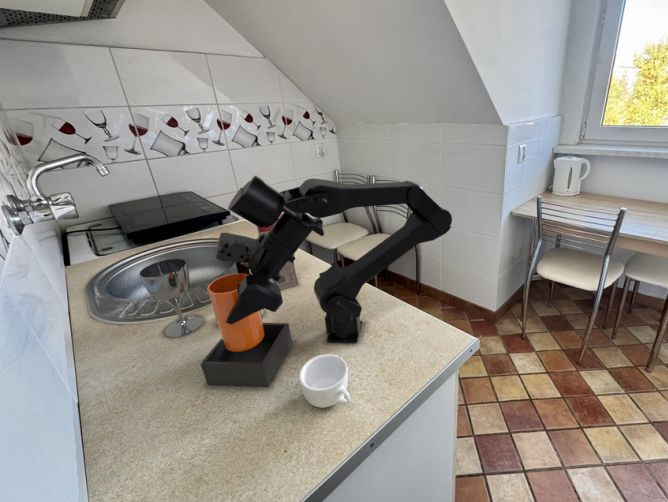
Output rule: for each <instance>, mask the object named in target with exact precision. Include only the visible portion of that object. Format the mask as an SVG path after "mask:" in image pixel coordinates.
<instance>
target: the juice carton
mask: <svg viewBox="0 0 668 502" xmlns="http://www.w3.org/2000/svg"><path fill="white" fill-rule="evenodd" d="M282 214H283V213H281V215H282ZM281 215H280V216H279V218H280V217H281ZM279 218H278V219H279ZM278 219H277V221H278ZM277 221H276V222H277ZM276 222H275V223H276ZM275 223H274V224H275ZM274 224H273V225H272V226H269V227H267V228H266V227H265V226H264V227H262V228H259V227H258V226H256V229H257V234H258V236H259V235H260V234H263V233H265V234H267V233H268V232H269V231H270V230H271V228H272V227H273V226H274ZM280 275H281V278H280V279H279V281H278V282H277V281H275V280H273V279H270V280H269V281H270V282H272V283H274V284H276V285H278V286H279V288H280V291H281V290H284V289H289V288H291V287H296V286H298V279H297V273H296V268H295V260H294V261H293V263H291V262H289V261H288V263H287V264H286V265H285V266H284V268H283V269H282V270H281V272H280Z"/></svg>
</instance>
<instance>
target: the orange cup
mask: <svg viewBox="0 0 668 502" xmlns="http://www.w3.org/2000/svg"><path fill="white" fill-rule="evenodd" d="M246 276H249V275H248V274H244V273H237V272H236V273H230V274H229V273H228V274H226V275H223V276H220V277H217V278H216V279H213V281H211V282H210V283H209V284H208V286H207V288H206V291H207V294H208V297H209V300H210V305H211V307H212V310H213V313H214V316H215V319H216V322H217V326H218V329H219V332H220V335H221V338H222V339H223V342H224V344H225V347H226V349H228V350H229V351H233V352H240V351H245V350H248V349H250V348H252V347H254V346H256V345H257V344H259V343H260V342H261V341H262V339H263V338H264V335H265V332H264V327H263V323H264V322H263V318H262V316H261V315H260V311H258V312H255V313H253V314H251V315H249V316H247V317H245V318H243V319H241V320H240V321H238V322H236V323H234V324H228V323H226V320H227V318H228V316H229V314H230V312H231V310H232V308H233V306H234V305H235V303H236V301H237V299H238V298H239V295H238V292H237V284H239V285H240V284H241V282H242V281H243V279H244V278H245V277H246Z"/></svg>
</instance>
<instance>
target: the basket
mask: <svg viewBox="0 0 668 502" xmlns="http://www.w3.org/2000/svg"><path fill="white" fill-rule="evenodd" d="M262 323H263V327H264V332H265V335H264V338H263V339H262V341H261V342H260V343H259V344H257V345H256V346H254V347H252V348H250V349H248V350H245V351H240V352H233V351H229V350H228V349H226V347H225V344H224V342H223V339H222V337H221V338H220V339H219V341H218V342H217V343H216V344H215V345H214V346H213V348H212V349H211V350H210V351H209V353H208V354H206V357H204V359H203V360H202V361H201V362H200V367H201V370H202V372H203V376H204V379H205V382H206V384H207V386H226V387H227V386H228V387H258V388H259V387H260V388H261V387H262V388H269V387H270V386H271V384H272V382H273V380H274V379H275V376H276V375H277V372H278V371H279V369H280V367H281V365H282V363H283V361H284V359H285V358H286V356H287V354H288V352H289V350H290V348H291V346H292V345H293V339H292V333H291V328H290V323H289V322H262Z"/></svg>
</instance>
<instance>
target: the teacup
mask: <svg viewBox="0 0 668 502" xmlns="http://www.w3.org/2000/svg"><path fill="white" fill-rule="evenodd" d="M348 382H349V368H348V364H347V362H346V361H345V359H343V358H342V357H341V356H339V355H336V354H333V353H332V354H331V353H330V354H329V353H325V354H319V355H317V356H314V357H312V358H310V359H309V360H308V361H306V362H305V363H304V364H303V366H302V367H301V369H300V372H299V385H300V388H301V391H302V394H303V397H304V398H305V400H306V401H307V402H308V403H309V404H310V405H312V406H314V407H315V408H328V407H332V406H334V405H336V404H337V403H341V404H344V405H349V404H350V403H351V401H352V397H351V395H350V393H349V392H348V391H347V390H348Z"/></svg>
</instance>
